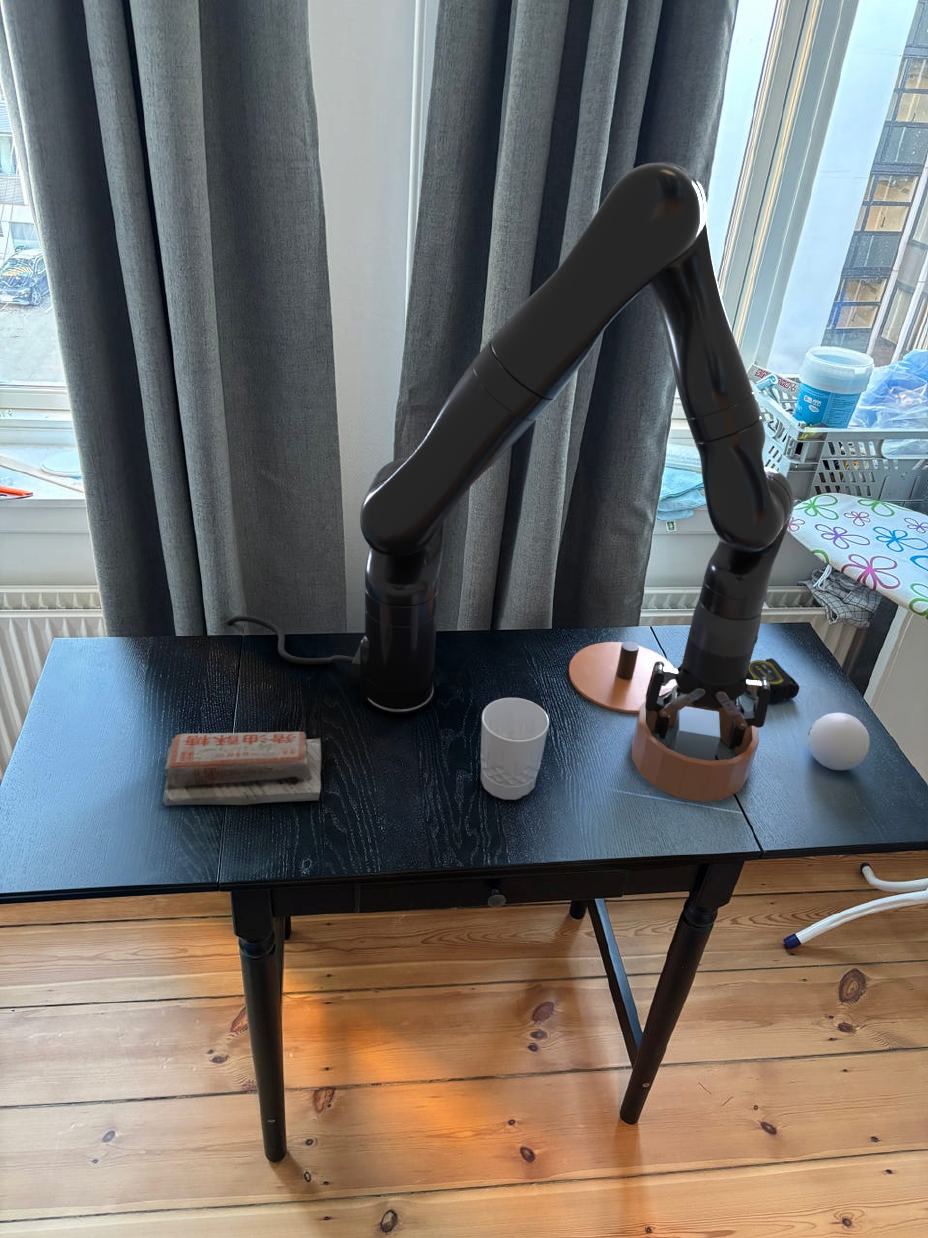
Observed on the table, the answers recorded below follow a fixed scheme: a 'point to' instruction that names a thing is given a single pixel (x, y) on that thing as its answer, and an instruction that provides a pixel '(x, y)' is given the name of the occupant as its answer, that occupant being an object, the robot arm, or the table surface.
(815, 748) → the white oval ball
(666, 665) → the lid
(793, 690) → the tape measure
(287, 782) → the packaged product
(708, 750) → the block
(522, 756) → the white cup
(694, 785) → the orange round container
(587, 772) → the table surface
